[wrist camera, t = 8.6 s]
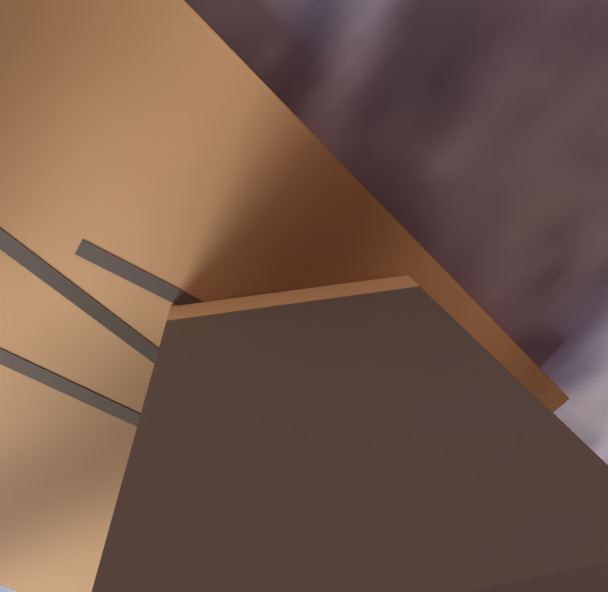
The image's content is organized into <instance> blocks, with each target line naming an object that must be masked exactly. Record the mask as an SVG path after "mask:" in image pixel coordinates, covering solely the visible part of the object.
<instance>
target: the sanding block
mask: <svg viewBox="0 0 608 592" xmlns="http://www.w3.org/2000/svg"><path fill="white" fill-rule="evenodd" d="M92 592H608V465H607V464H606V463H605V462H604V461H603V460H602V459H601V458H600V457H599V456H598V455H596V454H595V453H594V452H593V451H592V450H591V449H590V448H589V447H588V446H587V445H586V444H585V443H584V442H583V441H582V440H581V439H580V438H579V437H578V436H577V435H575V434H574V433H573V432H572V431H571V430H570V429H569V428H568V427H567V426H566V425H565V424H564V423H563V422H562V421H561V420H560V419H559V418H558V417H557V416H556V415H554V414H553V413H552V412H551V411H550V410H549V409H548V408H547V407H546V406H545V405H544V404H543V403H542V402H541V401H540V400H539V399H538V398H537V397H536V396H535V395H533V394H532V393H531V392H530V391H529V390H528V389H527V388H526V387H525V386H524V385H523V384H522V383H521V382H520V381H519V380H518V379H517V378H516V377H515V376H513V375H512V374H511V373H510V372H509V371H508V370H507V369H506V368H505V367H504V366H503V365H502V364H501V363H500V362H499V361H498V360H497V359H496V358H495V357H494V356H492V355H491V354H490V353H489V352H488V351H487V350H486V349H485V348H484V347H483V346H482V345H481V344H480V343H479V342H478V341H477V340H476V339H475V338H474V337H473V336H471V335H470V334H469V333H468V332H467V331H466V330H465V329H464V328H463V327H462V326H461V325H460V324H459V323H458V322H457V321H456V320H455V319H454V318H453V317H452V316H450V315H449V314H448V313H447V312H446V311H445V310H444V309H443V308H442V307H441V306H440V305H439V304H438V303H437V302H436V301H435V300H434V299H433V298H432V297H431V296H429V295H428V294H427V293H426V292H425V291H424V290H423V289H422V288H421V287H420V286H419V285H418V284H417V283H416V282H415V281H414V280H413V279H412V278H411V277H409V276H408V275H404V276H397V277H389V278H382V279H374V280H366V281H359V282H351V283H344V284H336V285H329V286H321V287H314V288H306V289H299V290H291V291H284V292H276V293H269V294H261V295H254V296H246V297H239V298H231V299H224V300H216V301H209V302H201V303H194V304H186V305H179V306H171V307H170V310H169V313H168V317H167V321H166V324H165V328H164V332H163V335H162V339H161V342H160V346H159V350H158V353H157V357H156V360H155V364H154V368H153V371H152V375H151V379H150V382H149V386H148V389H147V393H146V397H145V400H144V404H143V407H142V411H141V415H140V418H139V422H138V426H137V429H136V433H135V436H134V440H133V444H132V447H131V451H130V455H129V458H128V462H127V465H126V469H125V473H124V476H123V480H122V483H121V487H120V491H119V494H118V498H117V502H116V505H115V509H114V512H113V516H112V520H111V523H110V527H109V530H108V534H107V538H106V541H105V545H104V549H103V552H102V556H101V559H100V563H99V567H98V570H97V574H96V577H95V581H94V585H93V588H92Z"/></svg>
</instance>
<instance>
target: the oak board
mask: <svg viewBox="0 0 608 592" xmlns="http://www.w3.org/2000/svg"><path fill="white" fill-rule="evenodd" d="M404 275H408V276H409V277H411V278H412V279H413V280H414V281H415V282H416V283H417V284H418V285H419V286H420V287H421V288H422V289H423V290H424V291H425V292H426V293H427V294H428V295H429V296H431V297H432V298H433V299H434V300H435V301H436V302H437V303H438V304H439V305H440V306H441V307H442V308H443V309H444V310H445V311H446V312H447V313H448V314H449V315H450V316H452V317H453V318H454V319H455V320H456V321H457V322H458V323H459V324H460V325H461V326H462V327H463V328H464V329H465V330H466V331H467V332H468V333H469V334H470V335H471V336H473V337H474V338H475V339H476V340H477V341H478V342H479V343H480V344H481V345H482V346H483V347H484V348H485V349H486V350H487V351H488V352H489V353H490V354H491V355H492V356H494V357H495V358H496V359H497V360H498V361H499V362H500V363H501V364H502V365H503V366H504V367H505V368H506V369H507V370H508V371H509V372H510V373H511V374H512V375H513V376H515V377H516V378H517V379H518V380H519V381H520V382H521V383H522V384H523V385H524V386H525V387H526V388H527V389H528V390H529V391H530V392H531V393H532V394H533V395H535V396H536V397H537V398H538V399H539V400H540V401H541V402H542V403H543V404H544V405H545V406H546V407H547V408H548V409H549V410H550V411H551V412H552V413H553V412H554V411H555V410H556V409H558V408H559V407H560V406H561V405H562V404H564V403H565V402H566V401H567V400H568V399H569V398H568V397H567V396H566V395H565V394H564V393H563V392H562V391H561V390H560V389H559V388H558V386H557V385H556V384H555V383H554V382H553V381H552V380H551V379H550V378H549V377H548V376H547V375H546V374H545V373H544V372H543V371H542V370H541V369H540V368H539V367H538V366H537V365H536V364H535V363H534V362H533V361H532V360H531V359H530V358H529V356H528V355H527V354H526V353H525V352H524V351H523V350H522V349H521V348H520V347H519V346H518V345H517V344H516V343H515V342H514V341H513V340H512V339H511V338H510V337H509V336H508V335H507V334H506V333H505V332H504V331H503V330H502V329H501V328H500V326H499V325H498V324H497V323H496V322H495V321H494V320H493V319H492V318H491V317H490V316H489V315H488V314H487V313H486V312H485V311H484V310H483V309H482V308H481V307H480V306H479V305H478V304H477V303H476V302H475V301H474V300H473V299H472V298H471V297H470V295H469V294H468V293H467V292H466V291H465V290H464V289H463V288H462V287H461V286H460V285H459V284H458V283H457V282H456V281H455V280H454V279H453V278H452V277H451V276H450V275H449V274H448V273H447V272H446V271H445V270H444V269H443V268H442V267H441V265H440V264H439V263H438V262H437V261H436V260H435V259H434V258H433V257H432V256H431V255H430V254H429V253H428V252H427V251H426V250H425V249H424V248H423V247H422V246H421V245H420V244H419V243H418V242H417V241H416V240H415V239H414V238H413V237H412V235H411V234H410V233H409V232H408V231H407V230H406V229H405V228H404V227H403V226H402V225H401V224H400V223H399V222H398V221H397V220H396V219H395V218H394V217H393V216H392V215H391V214H390V213H389V212H388V211H387V210H386V209H385V208H384V207H383V206H382V204H381V203H380V202H379V201H378V200H377V199H376V198H375V197H374V196H373V195H372V194H371V193H370V192H369V191H368V190H367V189H366V188H365V187H364V186H363V185H362V184H361V183H360V182H359V181H358V180H357V179H356V178H355V177H354V176H353V174H352V173H351V172H350V171H349V170H348V169H347V168H346V167H345V166H344V165H343V164H342V163H341V162H340V161H339V160H338V159H337V158H336V157H335V156H334V155H333V154H332V153H331V152H330V151H329V150H328V149H327V148H326V147H325V146H324V144H323V143H322V142H321V141H320V140H319V139H318V138H317V137H316V136H315V135H314V134H313V133H312V132H311V131H310V130H309V129H308V128H307V127H306V126H305V125H304V124H303V123H302V122H301V121H300V120H299V119H298V118H297V117H296V116H295V115H294V113H293V112H292V111H291V110H290V109H289V108H288V107H287V106H286V105H285V104H284V103H283V102H282V101H281V100H280V99H279V98H278V97H277V96H276V95H275V94H274V93H273V92H272V91H271V90H270V89H269V88H268V87H267V86H266V85H265V83H264V82H263V81H262V80H261V79H260V78H259V77H258V76H257V75H256V74H255V73H254V72H253V71H252V70H251V69H250V68H249V67H248V66H247V65H246V64H245V63H244V62H243V61H242V60H241V59H240V58H239V57H238V56H237V55H236V54H235V52H234V51H233V50H232V49H231V48H230V47H229V46H228V45H227V44H226V43H225V42H224V41H223V40H222V39H221V38H220V37H219V36H218V35H217V34H216V33H215V32H214V31H213V30H212V29H211V28H210V27H209V26H208V25H207V24H206V22H205V21H204V20H203V19H202V18H201V17H200V16H199V15H198V14H197V13H196V12H195V11H194V10H193V9H192V8H191V7H190V6H189V5H188V4H187V3H186V2H185V1H184V0H0V585H2V586H5V587H8V588H11V589H13V590H16V591H19V592H92V588H93V585H94V581H95V577H96V574H97V570H98V567H99V563H100V559H101V556H102V552H103V549H104V545H105V541H106V538H107V534H108V530H109V527H110V523H111V520H112V516H113V512H114V509H115V505H116V502H117V498H118V494H119V491H120V487H121V483H122V480H123V476H124V473H125V469H126V465H127V462H128V458H129V455H130V451H131V447H132V444H133V440H134V436H135V433H136V429H137V426H138V422H139V418H140V415H141V411H142V407H143V404H144V400H145V397H146V393H147V389H148V386H149V382H150V379H151V375H152V371H153V368H154V364H155V360H156V357H157V353H158V350H159V346H160V342H161V339H162V335H163V332H164V328H165V324H166V321H167V317H168V313H169V310H170V307H171V306H179V305H186V304H194V303H201V302H209V301H216V300H224V299H231V298H239V297H246V296H254V295H261V294H269V293H276V292H284V291H291V290H299V289H306V288H314V287H321V286H329V285H336V284H344V283H351V282H359V281H366V280H374V279H382V278H389V277H397V276H404Z"/></svg>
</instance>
